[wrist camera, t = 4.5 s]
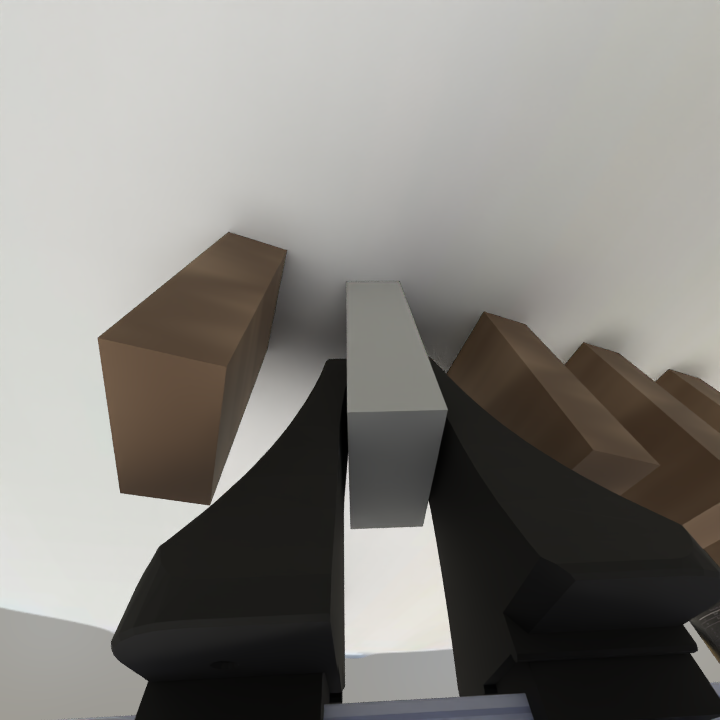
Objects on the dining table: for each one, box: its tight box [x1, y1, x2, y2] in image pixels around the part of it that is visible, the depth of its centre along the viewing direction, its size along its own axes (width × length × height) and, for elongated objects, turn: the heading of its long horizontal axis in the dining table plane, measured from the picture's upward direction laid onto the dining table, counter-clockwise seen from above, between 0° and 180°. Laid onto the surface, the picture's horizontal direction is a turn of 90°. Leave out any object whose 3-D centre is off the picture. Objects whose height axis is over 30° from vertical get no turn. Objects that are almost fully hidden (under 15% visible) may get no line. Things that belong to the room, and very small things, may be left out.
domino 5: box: [656, 369, 720, 567], centre depth 14 cm, size 2×4×7 cm, turn 162°
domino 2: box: [346, 281, 448, 529], centre depth 10 cm, size 2×4×7 cm, turn 0°
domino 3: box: [447, 312, 660, 495], centre depth 11 cm, size 2×4×7 cm, turn 162°
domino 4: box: [565, 342, 720, 548], centre depth 13 cm, size 2×4×7 cm, turn 162°
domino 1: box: [98, 232, 287, 505], centre depth 9 cm, size 2×4×7 cm, turn 162°
